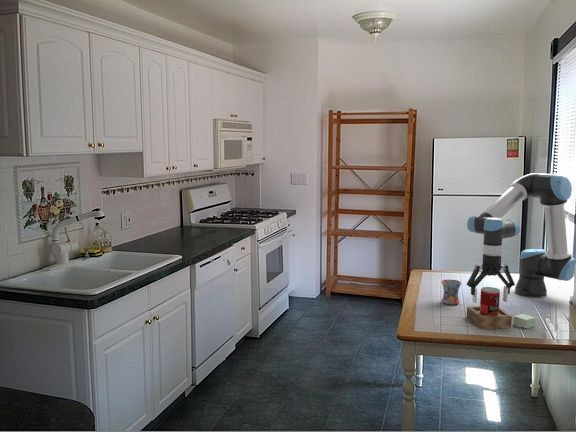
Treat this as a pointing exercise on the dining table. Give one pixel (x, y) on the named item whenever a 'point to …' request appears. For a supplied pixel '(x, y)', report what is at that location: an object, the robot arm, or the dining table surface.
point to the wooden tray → (489, 318)
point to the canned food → (489, 301)
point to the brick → (524, 321)
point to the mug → (450, 291)
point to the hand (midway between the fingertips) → (489, 301)
